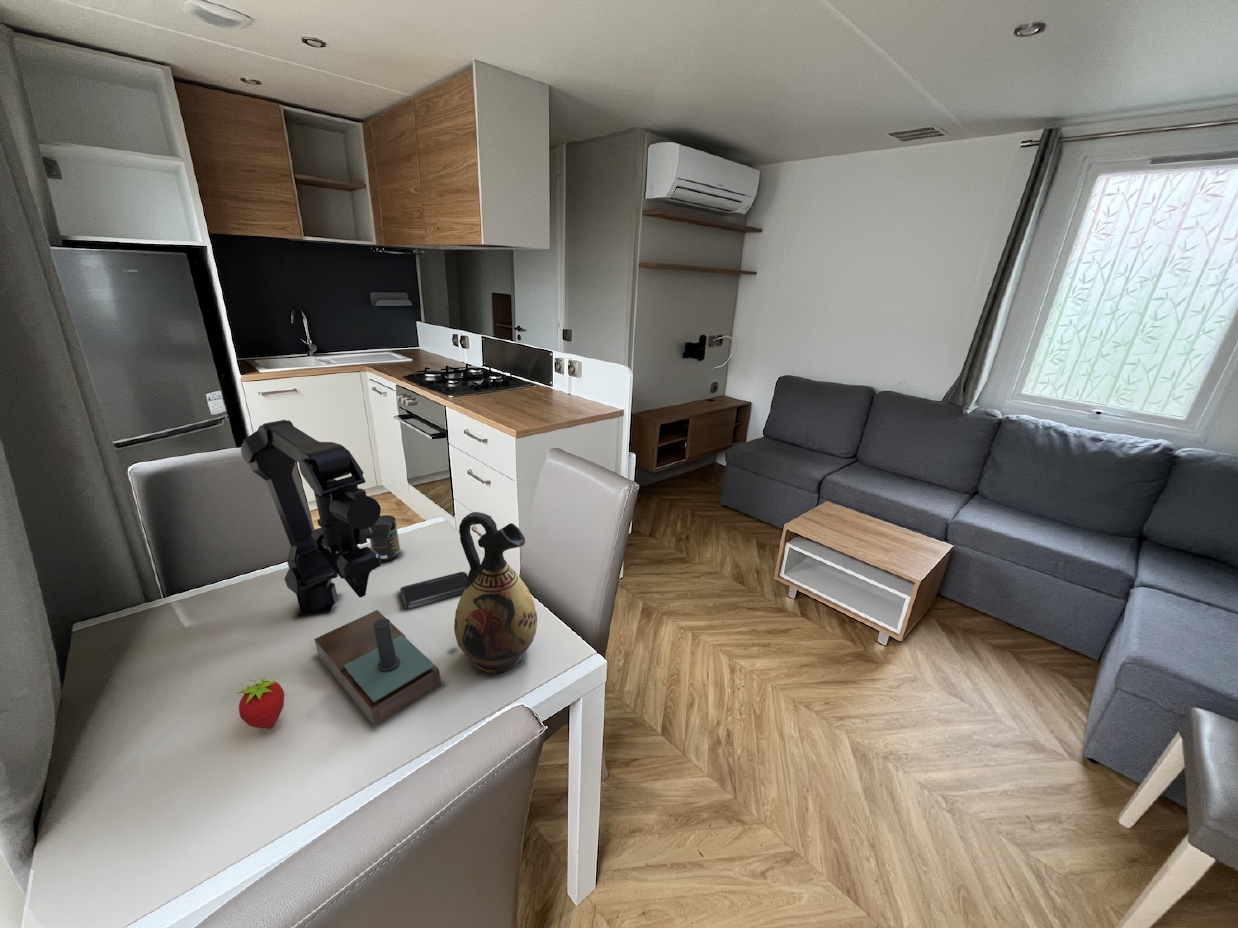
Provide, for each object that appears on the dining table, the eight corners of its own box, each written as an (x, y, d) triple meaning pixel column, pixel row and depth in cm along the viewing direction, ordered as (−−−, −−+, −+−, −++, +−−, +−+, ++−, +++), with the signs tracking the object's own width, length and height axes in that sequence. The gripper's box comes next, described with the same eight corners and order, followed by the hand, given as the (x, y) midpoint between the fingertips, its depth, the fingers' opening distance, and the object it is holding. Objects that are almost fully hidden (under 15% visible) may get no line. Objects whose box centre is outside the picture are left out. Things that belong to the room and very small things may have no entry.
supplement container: (403, 548, 133) (398, 514, 130) (398, 562, 127) (392, 526, 123) (376, 551, 132) (370, 516, 128) (370, 564, 126) (363, 528, 122)
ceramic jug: (551, 637, 102) (546, 506, 91) (517, 693, 88) (507, 546, 77) (477, 621, 106) (465, 494, 95) (434, 672, 92) (414, 530, 82)
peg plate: (343, 667, 87) (334, 623, 83) (402, 636, 94) (396, 595, 91) (373, 702, 80) (364, 656, 76) (434, 666, 87) (428, 622, 84)
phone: (472, 587, 115) (404, 605, 108) (473, 591, 116) (405, 609, 109) (464, 570, 122) (399, 586, 115) (465, 574, 122) (400, 591, 115)
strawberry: (244, 753, 76) (227, 703, 72) (251, 716, 82) (236, 669, 79) (289, 738, 78) (275, 689, 75) (293, 703, 85) (280, 657, 81)
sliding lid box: (318, 656, 95) (314, 638, 94) (380, 626, 104) (377, 609, 102) (374, 726, 81) (370, 707, 79) (441, 684, 89) (438, 666, 88)
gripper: (403, 515, 89) (415, 588, 95) (363, 487, 101) (376, 554, 107) (337, 536, 82) (354, 614, 87) (302, 504, 94) (319, 574, 99)
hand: (353, 586), depth 95 cm, fingers open, 9 cm apart
